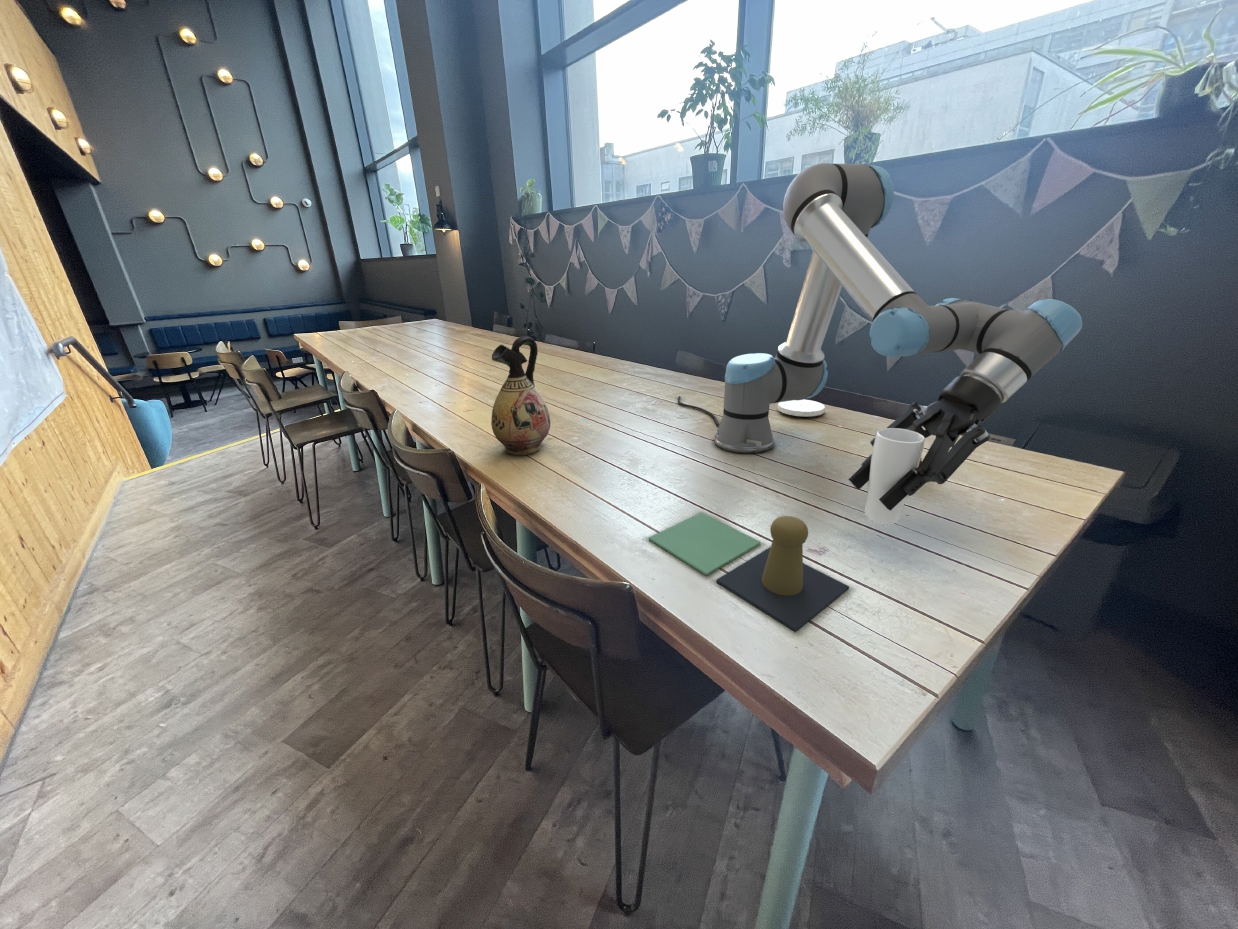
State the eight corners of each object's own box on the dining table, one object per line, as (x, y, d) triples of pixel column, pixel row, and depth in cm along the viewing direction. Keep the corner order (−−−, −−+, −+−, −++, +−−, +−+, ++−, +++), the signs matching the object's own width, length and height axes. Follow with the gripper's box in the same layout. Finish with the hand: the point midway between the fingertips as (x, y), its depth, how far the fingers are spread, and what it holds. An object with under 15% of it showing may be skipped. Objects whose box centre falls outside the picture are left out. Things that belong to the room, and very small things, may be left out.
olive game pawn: (759, 590, 71) (766, 527, 66) (763, 567, 76) (770, 507, 71) (802, 599, 68) (812, 535, 64) (803, 575, 74) (813, 514, 69)
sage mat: (648, 539, 85) (648, 537, 85) (701, 514, 93) (701, 512, 93) (706, 576, 75) (706, 573, 75) (760, 544, 83) (760, 541, 82)
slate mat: (716, 582, 73) (716, 579, 73) (770, 549, 81) (770, 546, 81) (795, 632, 63) (796, 629, 63) (848, 589, 71) (849, 586, 71)
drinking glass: (902, 532, 75) (925, 445, 69) (856, 521, 79) (874, 438, 73) (905, 513, 81) (926, 431, 74) (861, 504, 84) (878, 425, 78)
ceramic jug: (513, 465, 118) (498, 344, 106) (485, 449, 129) (468, 338, 117) (568, 447, 128) (560, 335, 116) (538, 434, 139) (527, 330, 127)
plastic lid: (799, 422, 142) (800, 414, 141) (768, 410, 154) (768, 402, 153) (833, 415, 147) (835, 407, 146) (801, 404, 159) (802, 396, 158)
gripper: (1052, 423, 66) (926, 537, 70) (938, 389, 84) (842, 481, 87) (1034, 390, 63) (902, 511, 67) (919, 361, 80) (820, 458, 84)
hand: (868, 494), depth 77 cm, fingers closed on drinking glass, 7 cm apart
